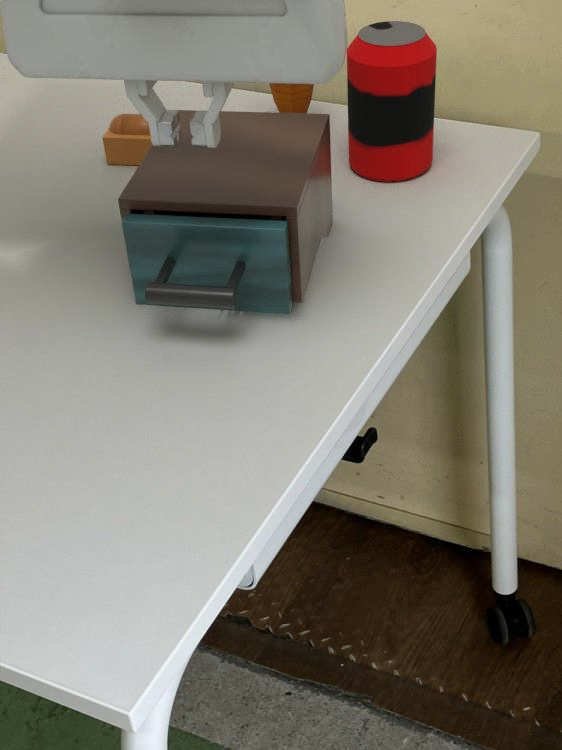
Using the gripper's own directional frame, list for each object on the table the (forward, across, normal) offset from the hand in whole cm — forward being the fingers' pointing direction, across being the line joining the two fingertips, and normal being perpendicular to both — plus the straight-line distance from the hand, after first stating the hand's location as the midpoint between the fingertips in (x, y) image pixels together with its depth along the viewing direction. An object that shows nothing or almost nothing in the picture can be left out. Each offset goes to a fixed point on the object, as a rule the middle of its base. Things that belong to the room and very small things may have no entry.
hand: (187, 143), depth 63 cm
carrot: (+15, 0, +34) cm, 37 cm away
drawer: (+14, 0, +5) cm, 15 cm away
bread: (+15, -13, +28) cm, 34 cm away
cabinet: (+15, 0, +10) cm, 18 cm away
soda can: (+15, +10, +28) cm, 33 cm away
